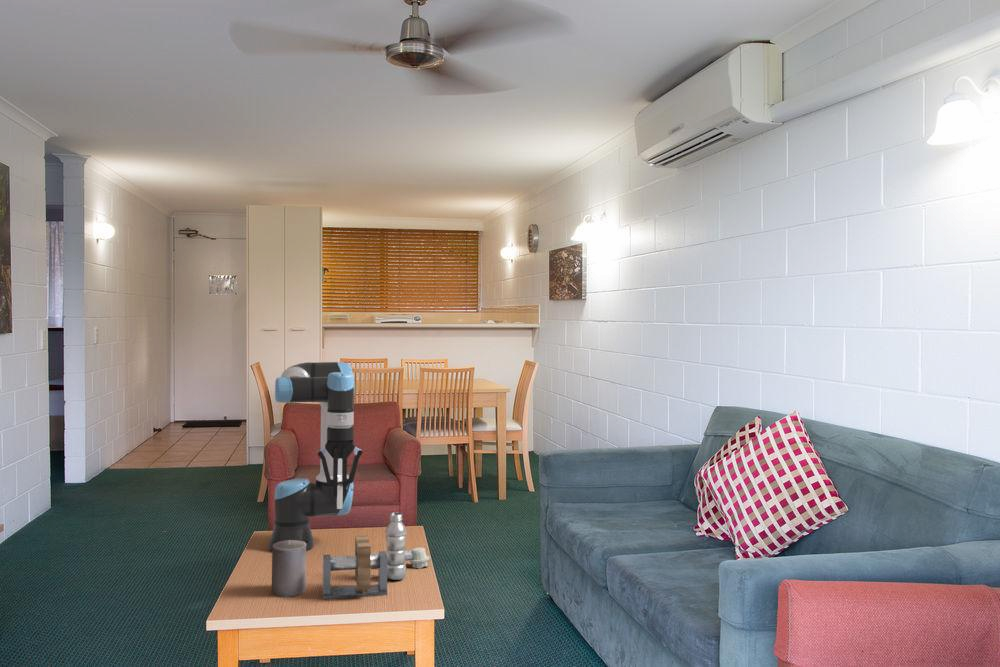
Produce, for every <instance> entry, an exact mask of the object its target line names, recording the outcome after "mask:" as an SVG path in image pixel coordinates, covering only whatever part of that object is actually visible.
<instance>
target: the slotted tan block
mask: <svg viewBox="0 0 1000 667" xmlns="http://www.w3.org/2000/svg"><path fill="white" fill-rule="evenodd" d="M354 538H355V539H354V540H355V541H354V555H357V569H355V570H354V579H355V582H356V586H357V588H358V590H360V589H370V585H371V579H372V578H371V572H372V568H371V554H372V548H371V547H372V546H371V543H370V540H369V537H368V535H355V537H354Z"/></svg>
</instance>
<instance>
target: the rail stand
mask: <svg viewBox="0 0 1000 667" xmlns="http://www.w3.org/2000/svg"><path fill="white" fill-rule="evenodd" d="M378 553H379V554H377V553H371V569H378V573H377V574H378V577H377V578H378V579H377V580H378V582H377V584H370V589H360V590H358V588H357V585H348V586H336V587H331V586H332V585H331V578H332V576H331V574H332V573H331V572H338V571H351V570H354V571H355V569H357V555H355V554H352V555H351V554H349V555H336V556H335V555H334V556H331V554H322V599H323V601H325V600H326V601H327V600H339V599H352V598H354V599H355V598H364V597H366V598H367V597H378V596H388V579H387V554H386V553H387V550H383V551H382V550H381V551H380V550H379V551H378Z"/></svg>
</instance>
